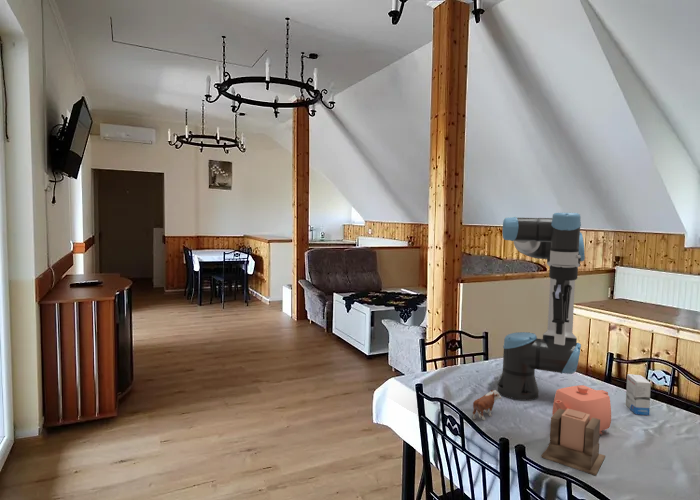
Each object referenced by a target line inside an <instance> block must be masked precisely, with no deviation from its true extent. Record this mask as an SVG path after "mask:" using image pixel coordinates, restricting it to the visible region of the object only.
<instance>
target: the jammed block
mask: <svg viewBox="0 0 700 500" xmlns="http://www.w3.org/2000/svg"><path fill="white" fill-rule="evenodd" d="M589 421H590V414H586V413H584V412H580V411H576V410H572V409H568V408H567V409H566V411H565V412H564V413H563V414H562V416H561V435H560V445H561V446H564V447H567V448H570V449H573V450H577V451H580V452H583V453H584V448H585V431H586V426H587V425H588V423H589Z"/></svg>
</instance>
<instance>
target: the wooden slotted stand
mask: <svg viewBox="0 0 700 500" xmlns="http://www.w3.org/2000/svg"><path fill="white" fill-rule="evenodd" d="M565 411H566V410H563V409H558V410H557V411H556V413H555V414H554V415H551V417H550V429H549V430H550V432H549V443H548V446H547V447H546V449H545V450H544V451H543V452H542V454H541V456H540V457H541V458H543V459H545V460H548V461H551V462H554V463H557V464H560V465H563V466H566V467H569V468H572V469H575V470H578V471H581V472H583V471H584V473H587V474H589V475H593V476H595V477H597V475H598V473H599V470H601V466H602V464H603V462H604V460H605V459H606V455H605V454H601V453H600V434H599V432H600V419H596V418H592V419H591V420H590V422H589V423H588V425H587V426H586V431H585V448H584V453H583V452H580V451H577V450H573V449H570V448H567V447H564V446H561V445H560V435H561V416H562V414H563V413H564V412H565Z"/></svg>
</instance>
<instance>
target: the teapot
mask: <svg viewBox="0 0 700 500" xmlns="http://www.w3.org/2000/svg"><path fill="white" fill-rule="evenodd" d="M553 399H554V400H553V404H552V412H551V414H552V415H551V416H553V415H554V414H555V413H556V411H557V410H558V409H563V410H566V409H567V408H568V409H572V410H576V411H580V412H584V413H586V414H590V420H591V419H592V418H596V419H600V432H599V435H603V432H602V431H605V430H608V429H610V427H611V423H612V405H611V398H610V396H609V392H608V391H605V390H603V389H599V390H597V389H595V388H591V387H589V386H587V385H584V384H583V385H579V384H578V385H572V386H566V387H562V388H558V389H556V391H555V395H554V398H553ZM589 422H590V421H589Z"/></svg>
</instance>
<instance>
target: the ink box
mask: <svg viewBox="0 0 700 500" xmlns="http://www.w3.org/2000/svg"><path fill="white" fill-rule="evenodd" d="M651 385H652V384H651V382H650V381H649V380H648V379H646V377H644V376H642V375H641V374H631V373H628V374H626V390H625V393H626V394H625V406H626V407H627V408H628V409H629V410H630V411H632V413H634V415H638V416H639V415H641V416H642V415H643V416H650V405H651Z"/></svg>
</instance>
